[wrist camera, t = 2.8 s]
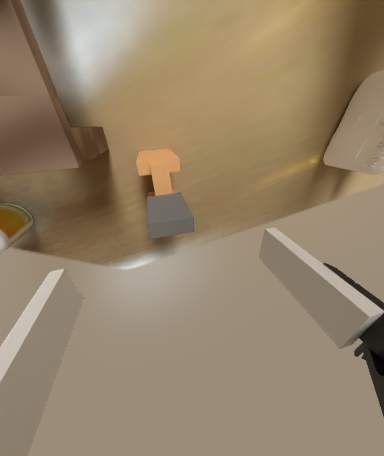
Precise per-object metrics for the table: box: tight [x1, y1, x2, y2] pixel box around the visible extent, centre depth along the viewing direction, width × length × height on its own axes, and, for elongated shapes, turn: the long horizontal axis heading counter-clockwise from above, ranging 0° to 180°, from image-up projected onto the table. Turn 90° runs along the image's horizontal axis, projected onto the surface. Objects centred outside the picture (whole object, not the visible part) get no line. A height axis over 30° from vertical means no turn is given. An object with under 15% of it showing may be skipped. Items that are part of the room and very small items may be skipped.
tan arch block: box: [136, 149, 194, 239], centre depth 22 cm, size 8×5×18 cm, turn 3°
